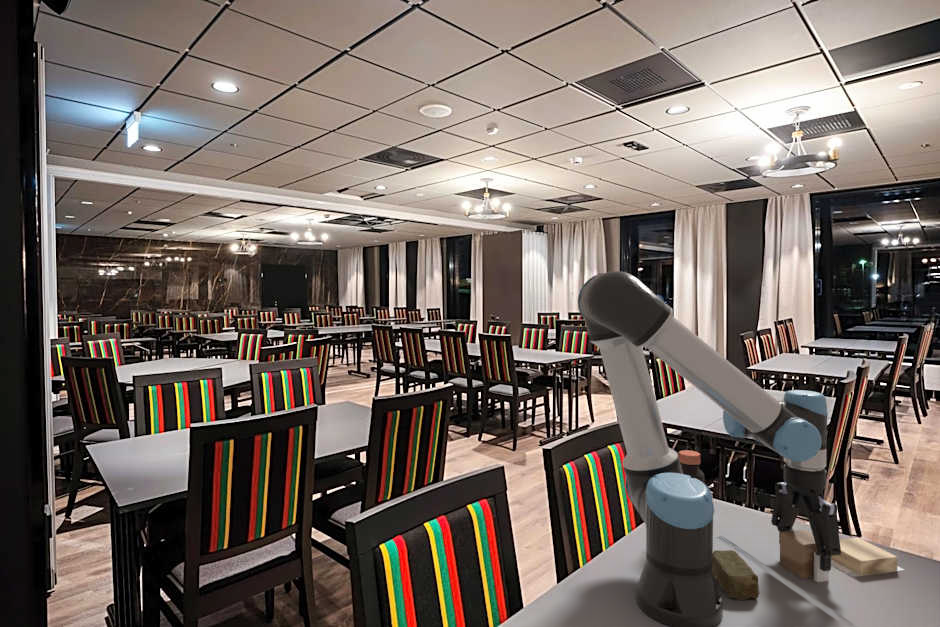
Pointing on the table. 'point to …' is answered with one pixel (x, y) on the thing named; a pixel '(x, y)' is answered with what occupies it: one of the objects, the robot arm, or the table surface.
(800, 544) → the walnut block
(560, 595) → the table surface
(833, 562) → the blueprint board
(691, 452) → the bottle
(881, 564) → the oak plinth
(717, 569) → the stone block
